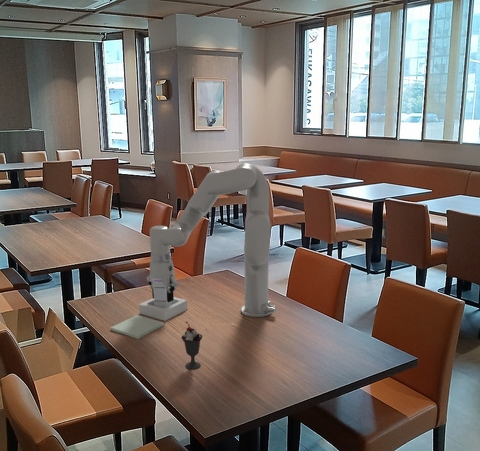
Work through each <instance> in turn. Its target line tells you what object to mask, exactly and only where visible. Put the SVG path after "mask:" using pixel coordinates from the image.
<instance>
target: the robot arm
mask: <svg viewBox="0 0 480 451" xmlns="http://www.w3.org/2000/svg"><path fill="white" fill-rule="evenodd" d="M265 176H266V175H264V173H263V172H262V171H261V170H260V169H259V168H258V167H257V166H255V165H254V164H251V163H248V162H245V163H244V162H243V163H239V165H238V166H236V168H233V169H228V170H224V171H221V170H210V171H209V172H208V173H207V174H206V176H205V177H204V178H203V180H202V182H201V183H200V185H199V186H198V187H197V188H196V190H195V191H194V193H193V195H192V196H191V197H190V199H189V200H188V202H187V205H186V207H185V209H184V210H183V211H182V212H181V214H180V216H179V217H178V219H177V220H176V222H175V223H174V224H173V226H172V227H170V228H169V227H168V226H166V225H154V226H152V227H150V228H149V240H150V242H149V243H150V245H149V246H150V261H149V275H148V276H146V281H147V283H148V285H149V286H150V289H151V294H152V298H154V292H153V278H160V279H161V280H162V283H163V285H164V286H166V287H167V291H168V293H167V302H171V301H173V300H174V297H175V296H174V292H175V290H176V289H177V288H178V286H179V282H178V281H177V280H176V272H175V267H174V266H175V265H174V262H173V260H172V259H173V258H172V257H173V256H172V255H171V247H177V248H178V247H183V246H185V245H186V243H187V242H188V239H189V238H190V235H191V234H192V232H193V230H194V229H195V228H196V226H197V225H198V224H199V223H200V221H201V219H203V217H206V215H207V214H209V211H210V210H211V209H212V207H213V205H214V204H215V203H216V201H217V200H218V198H219V197H220V196H224V195H230V194H234V193H237V192H238V193H239V192H242V191H246V216H245V221H244V246H243V253H244V254H243V255H244V261H243V262H244V263H243V264H244V305H242V307H241V308H240V312H241V314H243V315H244V316H246V317H251V318H263V317H267V316H270V315H271V314H273V313H274V314H275V313H276V312H277V306H276V305H272V304H271V300H269V257H270V253H271V252H270V251H271V250H270V249H271V227H272V225H271V220H270V214H269V213H270V189H269V183H268V180H267V177H265ZM169 286H170V288H169Z"/></svg>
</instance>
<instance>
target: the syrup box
mask: <svg viewBox="0 0 480 451" xmlns="http://www.w3.org/2000/svg"><path fill="white" fill-rule="evenodd" d="M169 288H170V286H169ZM153 292H154V305H155V306H157V307H160V308H164V309H165V308H167V307H169V306H171V305H173V304H172V301H171V302H167V293H168V291H167V287H166V286H164V285H163V283H162V280H161V279H160V278H153Z"/></svg>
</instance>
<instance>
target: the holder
mask: <svg viewBox="0 0 480 451" xmlns="http://www.w3.org/2000/svg"><path fill="white" fill-rule="evenodd" d="M172 304H173V305H171V306H169V307H167V308H165V309H164V308H160V307H157V306H155V305H154V298H153V297H152V298H150V299H147V300H146V301H143V302H141V303H139V304H138V305H139V306H138V307H139V308H138V310H139V315H143V316H147V317H150V318H152V319H153V318H154V319H158V320H159V321H160V320H161V321H163V322H164V321H165V322H166V321H168V320H170V319H171V318H174V317H175V316H177V315H179V314H181V313H184V312H185V311H187V310H188V300H187V299H183V298H178V297H175V296H174V300H173V301H172Z"/></svg>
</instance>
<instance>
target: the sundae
mask: <svg viewBox="0 0 480 451" xmlns="http://www.w3.org/2000/svg"><path fill="white" fill-rule="evenodd" d="M185 323H186V324H187V328H186V330H185V332H184V333H183V335H182V336H181V340H182V341H183V343H184V348H185V352H186V354H187V355H188V356H189V357H190V361H189V362H187V363H186V364H185V368H186V369H187V370H197V369H200V367H201V363H200V362H198V361H196V360H195V358H196V356H198V354H199V352H200V345H201V340H202V338H203V335H202V334H200V333H199V332H197V330H196V329H195V328H192V327H190V323H189V322H188V321H185Z"/></svg>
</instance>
